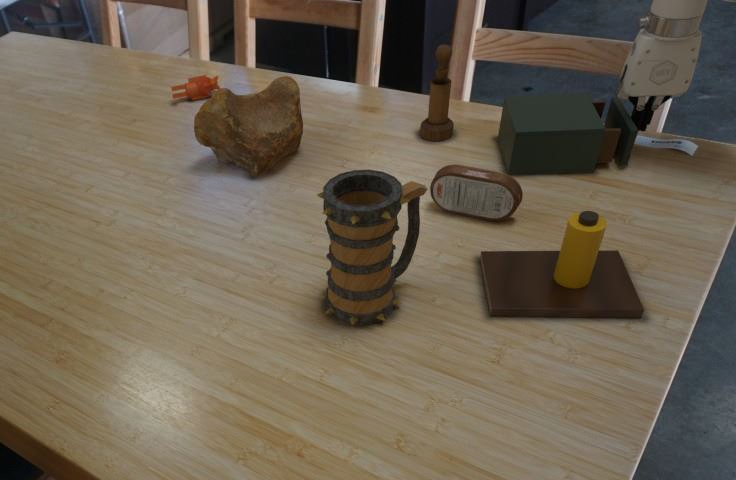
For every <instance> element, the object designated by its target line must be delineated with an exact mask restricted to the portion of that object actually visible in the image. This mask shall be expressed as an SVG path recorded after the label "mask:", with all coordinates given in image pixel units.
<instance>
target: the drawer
mask: <svg viewBox="0 0 736 480" xmlns="http://www.w3.org/2000/svg"><path fill="white" fill-rule="evenodd" d="M591 102H592V103H593V105H594V107H595V109H596V111H597V113H598V115H599V117H600V119H601V120H602V118H603V115H604V114H603V113H604V109H605V106H606V100H605V99H604V100H603V99H602V100H591ZM603 124H604V126H605V128H606V129H605V132H604V137H603V140H602V144H601V147H600V151H599V154H598V158H597V162H596V164H606V163H607V164H609V163H611V164H612V163H613V160H614V157H615V158H616V160H617V162H618V165H619V166H620V167H623V166H624V167H627V166H628V165H629V162H630V158H631V156H632V152H633V149H634V145H635V143H636V140H637V136H638V133H639V132H638V129H637V127H636V125H635V124H634V122H633V120H632V119H631V115H630V114H629V111H627V109H626V107H625V105H624V103H623V102H622V99H618V98H617V97H616V96H613V97H611V98H610V102H609V106H608V110H607V113H606V116H605V121H604V123H603Z"/></svg>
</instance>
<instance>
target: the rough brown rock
mask: <svg viewBox="0 0 736 480" xmlns="http://www.w3.org/2000/svg"><path fill="white" fill-rule="evenodd" d="M300 92H301V91H300V87H299V84H298V82H297V81H296V80H295V79H294V78H293V77H291V76H288V75H284V76H279V77H276V78H275V79H274V80H272V81H271V82H270V84H269V85H268V86H266V87H265V88H264V89H263V90H261V91H260V92H257V93H255V92H254V93H247V94H236V93H234V92H233V91H232V90H230V89H229V88H227V87H220V89H215V91H213V92H212V93H211V97H210V98H208V99H206V101H204V102H203V103H202V104H201V106H200V107H199V110H198V112H197V113H196V114H195V115H194V119H193V132H194V137H195V139H196V141H197V143H199V145H200V146H203V147H206V148H210V149H211V151H212V152H213V154H214V156H215V158H216V159H217V161H218V162H221V163H224V164H230V163H234V164H235V166H236V167H239V168H241V169H242V170H243V171H244V172H246V173H247V174H249V176H252V177H258V176H260V175H262V174H264V173H266V172H267V171H268V170H270V169H271V168H272V167H273V166H274V165H276V163H277V162H279V161H280V160H281V159H282V158H284V157H286V156H287V155H291V154H292V153H294V152H296V151H297V150H298V149H299V148H300V145H301V142H302V136H303V134H304V121H303V120H304V119H303V114H302V107H301V95H300V94H301V93H300Z"/></svg>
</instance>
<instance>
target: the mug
mask: <svg viewBox="0 0 736 480" xmlns="http://www.w3.org/2000/svg"><path fill="white" fill-rule="evenodd" d="M428 190H429V188H428V187H426V185H425V184H422V183H419V182H416V181H412V180H411V181H408V182H406V183H404V184H402V182H401V181H399V180H398V179H397V177H396V176H395V175H391V174H389V173H387V172H385V171H380V170H375V169H353V170H349V171H345V172H342V173H341V172H340V173H339V174H337V175H335V176H333V177H331V178H329V179H328V181H327V182H326V183H325V184H324V185H323V187H322V192H319V193H316V194H315V196H317V197H318V198H321V199H323V204H322V205H323V206H322V207H323V208H322V209H323V212H322V213H321V214H322V215H325V216H326V218H325V220H324V225H325V227H326V231H327V234H328V236H329V237H328V238H329V241H330V243H329V245H328V252H327V253H326V255H325V258H326V259H327V260H329V262H330V268H329V270H327V271H326V272H325V275H326V276H327V283H326V284H327V287H326V289H325V291H323V292H320V293H319V294H320V295H321V296H323V297H325V308H326V311H325V312H324V314H329V315H330V316H331V317H333V318H334V319H336V320H337V321H339V322H340V323H344V324H348V325H351V326H370V325H373V324H377V323H381V322H382V321H384V322H386V318H388V317H389V316H391V314H392V312H393V310H394V308H395V306H396V305H400V304H403V302H402V301H399V299H398V300H397V299H396V291H395V287H394V285H395V283H396V282H397V279H398V278H399V277H400V276H401V275H403V274H404V273H405V272H406V270H408V268H409V266H410V264H411V261H412V259H413V257H414V254H415V251H416V248H417V244H418V240H419V238H420V237H419V236H420V230H421V229H420V227H421V217H420V216H421V215H420V202H421V197H422V196H424V195H425V194H426V193H427V191H428ZM403 204H406V205H407V206H406V207H407V220H408V221H407V234H406V237H405V242H404V245H403V246H402V247H403V248H402V250H401V253H400V255H399V258H398V260H397V261H396V263H395V264H393V260H394V253H395V250H396V249H397V247H396V244H394V235H395V234H396V232H398V231H400V226H399V222H398V221H399V219H398V215H399V213H400V212H401V210H402V207H403ZM392 264H393V265H392Z"/></svg>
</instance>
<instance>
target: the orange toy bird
mask: <svg viewBox="0 0 736 480" xmlns="http://www.w3.org/2000/svg"><path fill="white" fill-rule="evenodd" d="M187 79H188V80H187V81H188V82H185V83H184V84H180V85H174V86H170V87H171V88H170V89H171V92H177V91H181V90H185V91H182V92H177V93H173V94H172V99H179V98H184V97H186V98H188V99H189V98H190V99H191V101H195V100H200V99H204V98H209V97H210V94H212V93H213V92H215V91H216V90H218V89H220V88H221V87H220V85H219V83H218V79H219V75H215V76H211V77H208V76H207V74H203V75H197V76H192V77H188V78H187Z"/></svg>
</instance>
